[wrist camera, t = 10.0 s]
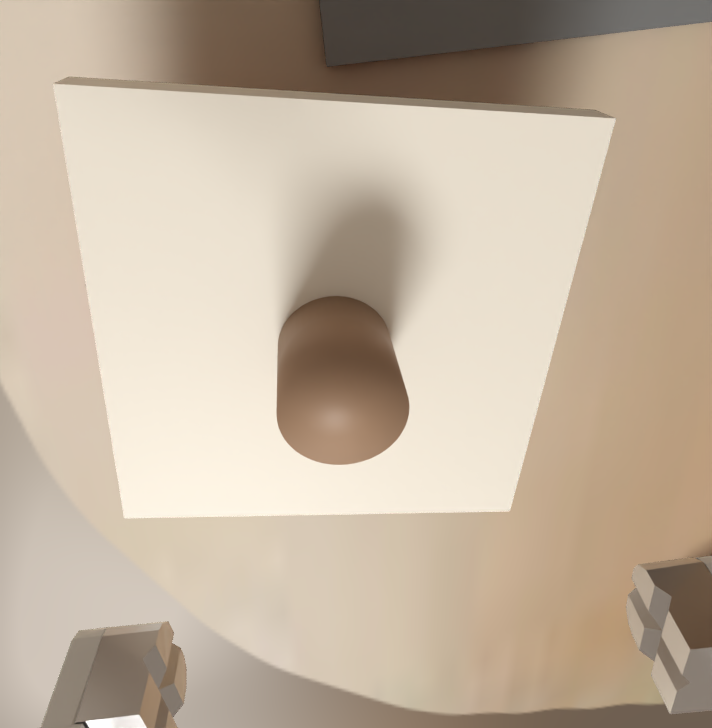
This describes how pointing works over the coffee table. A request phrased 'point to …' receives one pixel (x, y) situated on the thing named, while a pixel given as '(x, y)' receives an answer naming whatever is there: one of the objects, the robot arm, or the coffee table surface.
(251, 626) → the coffee table surface
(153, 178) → the lid
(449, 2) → the mat
